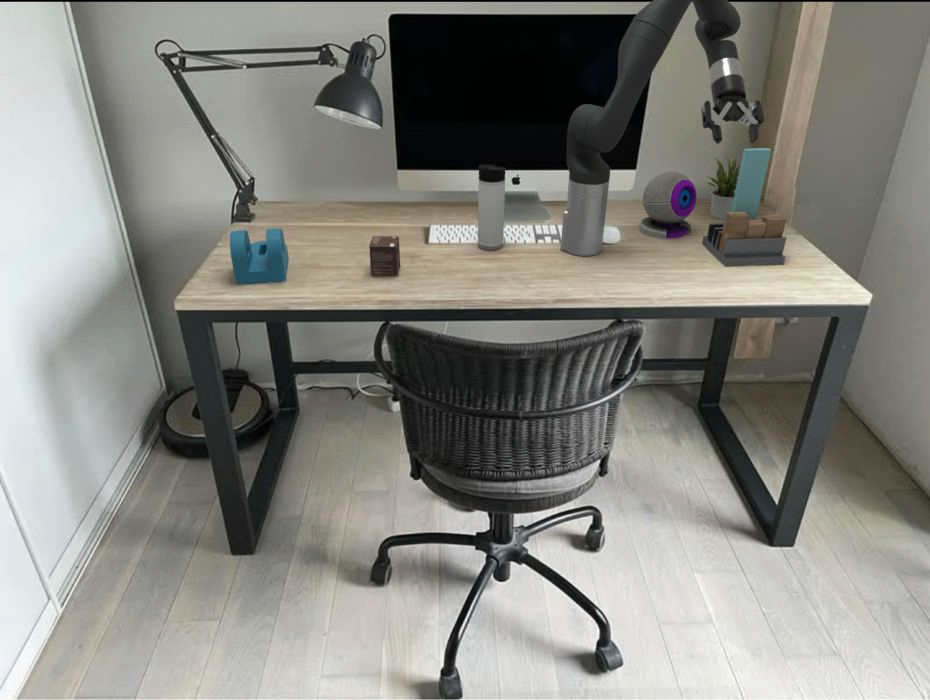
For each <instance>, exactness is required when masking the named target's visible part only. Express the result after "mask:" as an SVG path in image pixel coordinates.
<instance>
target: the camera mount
mask: <svg viewBox="0 0 930 700" xmlns="http://www.w3.org/2000/svg"><path fill="white" fill-rule="evenodd" d="M229 251H230V257H231V263H232V264H231V265H232V268H233V276H234V279H235V284H236V285H235V286H241V285H240V284H246V285H257V284H256V283H260V284H271V283H270V282H275V283H283V282H282V281H286V282H287V276H288V269H289V268H288V267H289V262H288V261H289V259H290V258H289V257H290V256H289V250H288V246H287V244H286V241H285V236H284V231H283V228H281V227H279V228H278V227H277V228H267V229H266V232H265V240H260V241H256V242H251V239H250V236H249V232H248V231H247V229H245V230H232V231H230V234H229ZM237 284H238V285H237Z"/></svg>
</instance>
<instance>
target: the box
mask: <svg viewBox="0 0 930 700" xmlns="http://www.w3.org/2000/svg"><path fill="white" fill-rule="evenodd" d="M368 246H369V259H370V260H369V262H370V275H371V277H398V276H399V272H400V268H401V255H400V253H401V252H400V250H401V249H400V237H399V236H392V235H391V236H390V235H389V236H384V235H383V236H381V235H379V236H377V235H376V236H375V235H374V236H372V238H371V240H370V243H369V245H368Z"/></svg>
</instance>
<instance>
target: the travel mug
mask: <svg viewBox="0 0 930 700" xmlns="http://www.w3.org/2000/svg"><path fill="white" fill-rule="evenodd" d="M477 181H478V185H477V186H478V190H477V192H478V193H477V195H478V197H477V200H478V201H477V203H478V204H477V247H478V248H480V249H481V250H483V251H484V250H485V251H497V250H501V249H502V248H503V247H504V231H505V230H504V228H505V227H504V226H505V201H506V200H505V195H506V167H504V166H502V167H501V166H498V165H497V164H486V163H485V164H480V165H479V166H478V179H477Z"/></svg>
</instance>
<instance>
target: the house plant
mask: <svg viewBox="0 0 930 700" xmlns="http://www.w3.org/2000/svg"><path fill="white" fill-rule="evenodd" d="M724 156H725V158H726V160H727V162H728V174H727V171H725V169H724V165H723V164H722V163H721V161H719V159H718V158H717V157H714V159H715V161H716V163H717V166H718V167H717V168H718V169H717V170H716V171H715V173H716V175H714V176H715V178H714V177H711V176H706V177H707V178H708V179H710V180H711V181H712V182H713V183H715V184H716V185H717V187H716V185H715V184H713V183H712V182H711V181H710V182H709V181H708V182H706V184H708V185H711V186H712V187H714V188H715V189H714V190H712V191H711V195H710V196H711V201H710V202H711V206H710V207H711V210H710V216H711V215H712V216H711V217H713V218H716V219H719V218H720V220H721V219H722V220H725V216H726V212H731V209H732V205H733V200H734V195H735V190H736V185H737V180H738V175H739V171H740V166H741V164H739V165H738V166H737V160H736V157H735V156H733V158H732V161H731V159H730V158H729V157H727V155H726V154H724ZM731 162H732V163H731ZM705 164H707V165H708V166H710V168H712V169H713V170H715V168H714V167H713V166H711V165H710V164H709V163H708V162H707V163H705ZM716 179H717V180H716ZM717 188H718V189H717Z"/></svg>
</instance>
